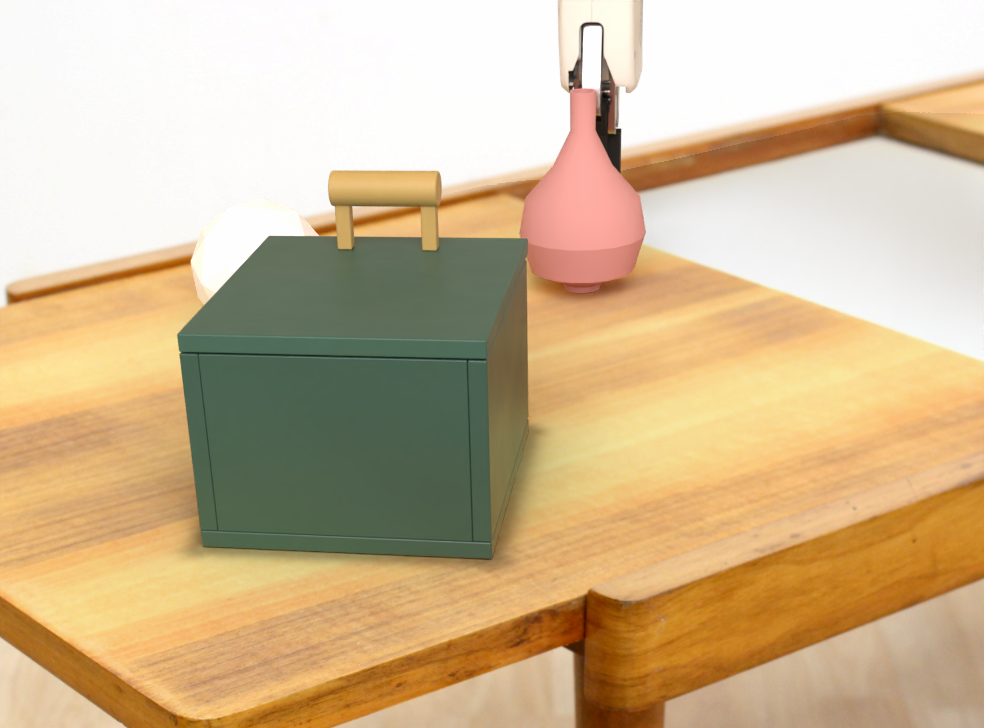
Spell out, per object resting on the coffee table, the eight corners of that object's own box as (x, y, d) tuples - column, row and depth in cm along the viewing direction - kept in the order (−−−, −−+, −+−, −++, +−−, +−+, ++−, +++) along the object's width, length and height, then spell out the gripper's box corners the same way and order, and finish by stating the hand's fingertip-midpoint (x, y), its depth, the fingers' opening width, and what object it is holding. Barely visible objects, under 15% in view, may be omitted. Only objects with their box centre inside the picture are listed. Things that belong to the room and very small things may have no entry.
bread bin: (281, 424, 79) (266, 255, 75) (528, 432, 77) (526, 259, 73) (201, 547, 67) (178, 353, 63) (492, 559, 65) (487, 361, 61)
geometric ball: (271, 385, 91) (223, 308, 84) (197, 311, 95) (145, 230, 88) (369, 304, 92) (329, 221, 85) (291, 233, 96) (248, 148, 89)
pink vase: (633, 309, 93) (637, 105, 87) (508, 303, 94) (505, 103, 89) (652, 271, 99) (656, 79, 94) (535, 266, 101) (533, 77, 96)
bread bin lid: (269, 251, 75) (261, 160, 73) (528, 254, 73) (527, 160, 71) (178, 352, 63) (165, 246, 61) (487, 359, 61) (484, 250, 59)
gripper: (653, -90, 90) (645, 220, 99) (664, -112, 103) (656, 164, 112) (525, -87, 92) (528, 219, 100) (551, -109, 105) (552, 163, 113)
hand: (596, 189), depth 106 cm, fingers closed
